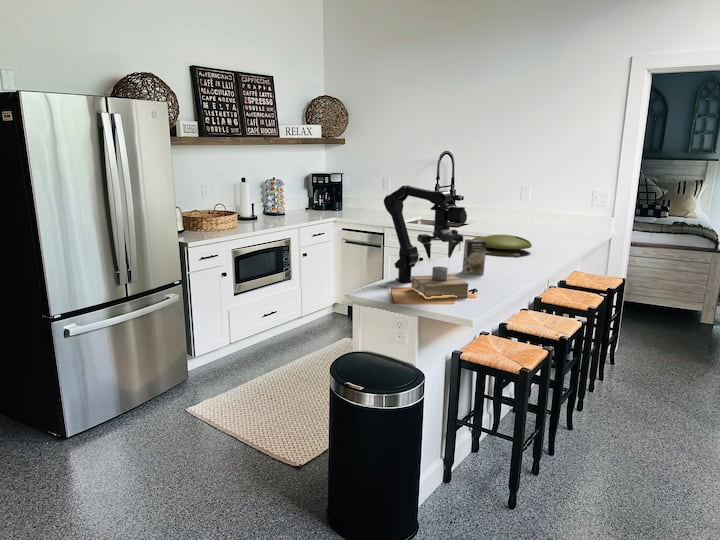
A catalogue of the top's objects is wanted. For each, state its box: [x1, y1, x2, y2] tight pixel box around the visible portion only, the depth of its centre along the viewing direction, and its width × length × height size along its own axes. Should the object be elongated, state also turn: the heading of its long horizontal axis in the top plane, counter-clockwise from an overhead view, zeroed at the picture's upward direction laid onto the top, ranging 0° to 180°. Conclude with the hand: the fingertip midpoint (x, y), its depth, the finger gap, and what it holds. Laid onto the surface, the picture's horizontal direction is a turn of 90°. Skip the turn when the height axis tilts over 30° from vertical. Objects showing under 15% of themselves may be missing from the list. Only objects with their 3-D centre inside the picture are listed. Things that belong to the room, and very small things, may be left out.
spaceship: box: [472, 234, 533, 258], centre depth 311 cm, size 35×31×10 cm
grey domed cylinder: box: [431, 266, 448, 282], centre depth 217 cm, size 6×6×5 cm
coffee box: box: [462, 238, 486, 276], centre depth 254 cm, size 9×6×16 cm
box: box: [411, 278, 469, 299], centre depth 219 cm, size 16×18×5 cm
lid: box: [411, 273, 469, 287], centre depth 218 cm, size 16×18×1 cm
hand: (439, 258), depth 224 cm, fingers open, 9 cm apart
